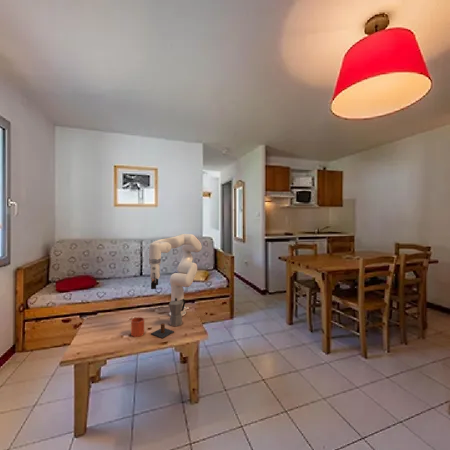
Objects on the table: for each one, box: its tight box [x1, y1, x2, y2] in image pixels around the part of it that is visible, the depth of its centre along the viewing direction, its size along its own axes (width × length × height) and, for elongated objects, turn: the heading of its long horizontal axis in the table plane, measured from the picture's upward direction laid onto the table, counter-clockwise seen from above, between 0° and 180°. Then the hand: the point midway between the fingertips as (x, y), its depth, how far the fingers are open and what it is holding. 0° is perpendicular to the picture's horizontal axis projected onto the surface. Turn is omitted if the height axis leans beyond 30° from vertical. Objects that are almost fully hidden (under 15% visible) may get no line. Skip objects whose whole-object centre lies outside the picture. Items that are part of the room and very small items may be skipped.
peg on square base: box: [150, 323, 175, 340], centre depth 155 cm, size 10×10×6 cm
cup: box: [130, 316, 145, 338], centre depth 154 cm, size 8×8×9 cm
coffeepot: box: [168, 298, 186, 327], centre depth 171 cm, size 15×9×18 cm, turn 144°
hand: (154, 287), depth 162 cm, fingers open, 9 cm apart
